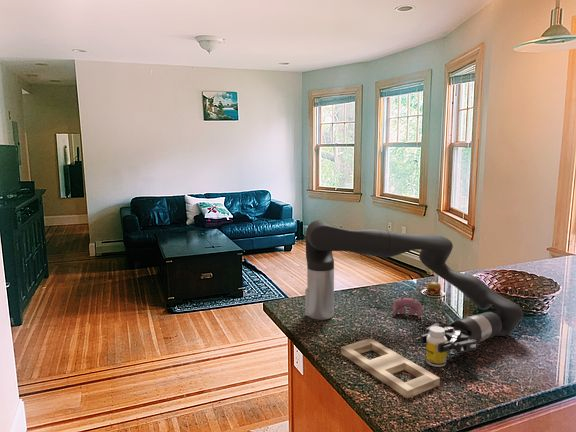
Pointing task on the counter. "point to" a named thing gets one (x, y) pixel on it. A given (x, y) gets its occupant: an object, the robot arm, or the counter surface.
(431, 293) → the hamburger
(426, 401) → the counter surface
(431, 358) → the supplement bottle
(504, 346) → the counter surface
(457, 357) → the counter surface
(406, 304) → the pink arch block
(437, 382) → the socket rail
